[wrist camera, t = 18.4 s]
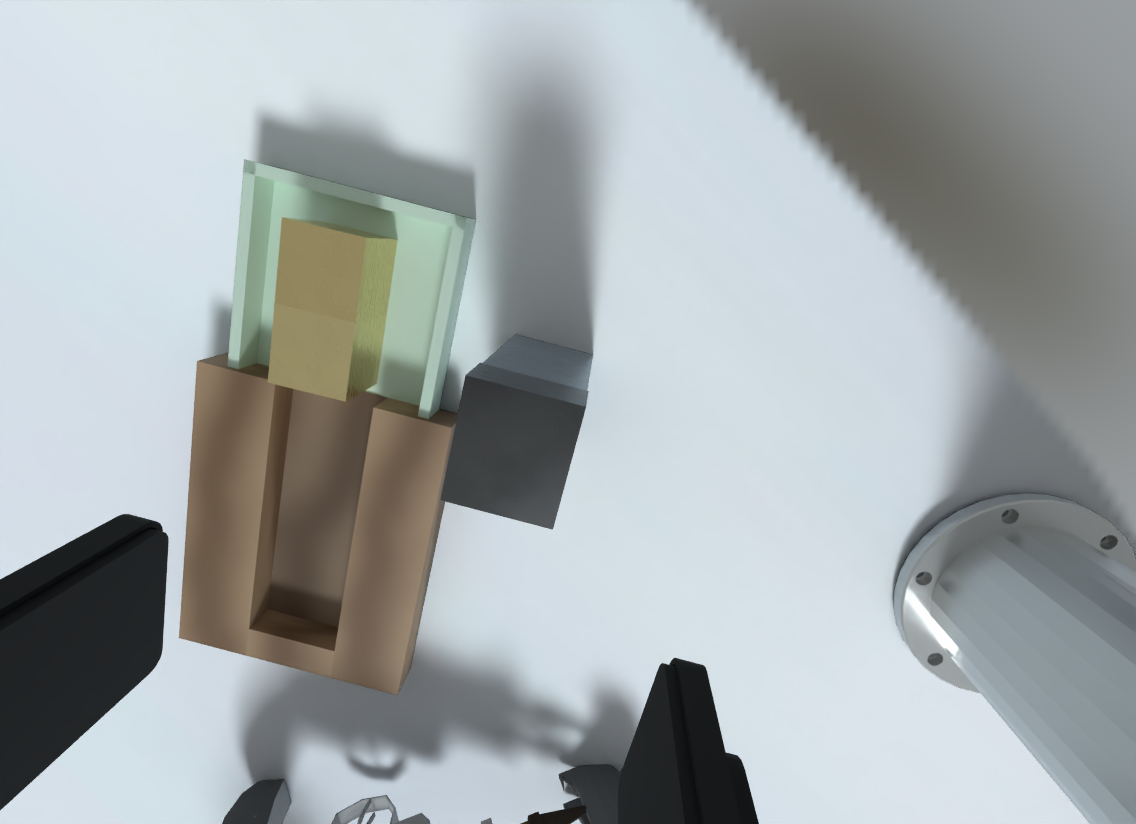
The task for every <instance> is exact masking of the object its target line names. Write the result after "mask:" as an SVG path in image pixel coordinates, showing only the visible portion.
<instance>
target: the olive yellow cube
mask: <svg viewBox="0 0 1136 824" xmlns="http://www.w3.org/2000/svg"><path fill="white" fill-rule="evenodd" d="M386 318H387V314H386V315H383V316H379V317H376V318H372V319H369V320H365V321H361V322H358V323H353V322H349V321H345V320H341V319H337V318H333V317H329V316H324V315H320V314H316V313H312V312H308V311H304V310H300V309H296V308H292V307H288V306H284V305H280V304H276V303H274V314H273V326H272V338H271V349H270V361H269V373H268V383H272V384H276V385H280V386H284V387H288V388H292V389H296V390H300V391H304V392H308V393H312V394H316V395H320V396H324V397H329V398H333V399H337V400H341V401H345V402H346V401H348V400H350V399H351V398H353V397H355V396H357V395H358V394H360V393H362V392H364V391H365V390H367V389H369V388H371V387H372V386H374V385H376V384H377V381H378V374H379V367H380V360H381V353H382V346H383V339H384V332H385V325H386Z"/></svg>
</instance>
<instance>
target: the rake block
mask: <svg viewBox="0 0 1136 824" xmlns="http://www.w3.org/2000/svg"><path fill="white" fill-rule="evenodd" d="M592 358H593V355H592V354H589V353H585V352H581V351H577V350H573V349H569V348H566V347H562V346H558V345H554V344H550V343H547V342H543V341H539V340H535V339H531V338H527V337H524V336H520V335H516V334H515V335H514V336H513V337H512V338H511V339H509V340H508V341H507V342H506V343H505V344H504V345H503V346H501V347H500V348H499V349H498V350H497V351H496V352H495V353H493V354H492V355H491V356H490V357H489V358H488V359H487V360H485V361H484V362H483V363H479V364H478V365H477V366H476V367H475V368H473V369H472V370H471V371H470V372H469V373H468V374H466V376H465V381H464V386H463V391H462V396H461V401H460V405H459V410H458V415H457V420H456V425H455V430H454V435H453V440H452V445H451V450H450V455H449V459H448V464H447V469H446V474H445V479H444V484H443V489H442V494H441V499H440V500H442V501H446V502H450V503H454V504H457V505H461V506H465V507H469V508H473V509H476V510H480V511H484V512H488V513H492V514H496V515H499V516H503V517H507V518H511V519H515V520H518V521H522V522H526V523H530V524H534V525H538V526H541V527H545V528H549V529H553V527H554V523H555V519H556V516H557V512H558V508H559V505H560V501H561V497H562V493H563V490H564V486H565V482H566V479H567V475H568V471H569V468H570V464H571V460H572V456H573V453H574V449H575V445H576V442H577V438H578V434H579V431H580V427H581V423H582V420H583V416H584V412H585V408H586V403H587V397H588V391H587V388H588V382H589V376H590V370H591V364H592Z"/></svg>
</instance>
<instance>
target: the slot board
mask: <svg viewBox="0 0 1136 824" xmlns="http://www.w3.org/2000/svg"><path fill="white" fill-rule="evenodd" d="M268 373H269V366H266V365H262V364H258V363H256V364H253V365H250V366H247V367H244V368H240V369H236V368H232V367H228V354H227V353H226V354H222V355H218V356H215V357H211V358H207V359H203V360H200V361H197V371H196V386H195V402H194V417H193V432H192V448H191V463H190V478H189V493H188V509H187V524H186V539H185V555H184V570H183V585H182V601H181V616H180V631H179V638H181V639H185V640H189V641H193V642H197V643H200V644H204V645H208V646H212V647H216V648H219V649H223V650H227V651H231V652H235V653H239V654H242V655H246V656H250V657H254V658H258V659H261V660H265V661H269V662H273V663H277V664H280V665H284V666H288V667H292V668H296V669H300V670H303V671H307V672H311V673H315V674H319V675H322V676H326V677H330V678H334V679H338V680H341V681H345V682H349V683H353V684H357V685H360V686H364V687H368V688H372V689H376V690H380V691H383V692H387V693H391V694H395V695H398V693H399V691H400V689H401V687H402V685H403V682H404V680H405V678H406V676H407V674H408V672H409V670H410V668H411V663H412V658H413V653H414V648H415V644H416V639H417V634H418V629H419V624H420V619H421V615H422V610H423V605H424V600H425V595H426V591H427V586H428V581H429V576H430V571H431V566H432V562H433V557H434V552H435V547H436V542H437V538H438V533H439V528H440V523H441V518H442V513H443V509H444V504H445V501H442V500H440V499H441V494H442V489H443V484H444V479H445V474H446V469H447V464H448V459H449V455H450V450H451V445H452V440H453V435H454V430H455V425H456V420H457V415H458V414H455V413H451V412H448V411H444V410H440V409H439V410H438V411H437V412H436V413H435V414H434V415H432V416H431V417H430V418H429V419H426V418H422V417H418V412H419V407H420V406H418V405H414V404H410V403H407V402H403V401H399V400H395V399H391V398H387V397H384V396H380V395H376V394H372V393H368V392H365V391H364V392H362V393H360V394H358V395H357V396H355V397H353V398H351V399H350V400H348V401H346V402H345V401H341V400H337V399H333V398H329V397H324V396H320V395H316V394H312V393H308V392H304V391H300V390H296V389H292V388H288V387H284V386H280V385H276V384H272V383H268Z"/></svg>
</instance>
